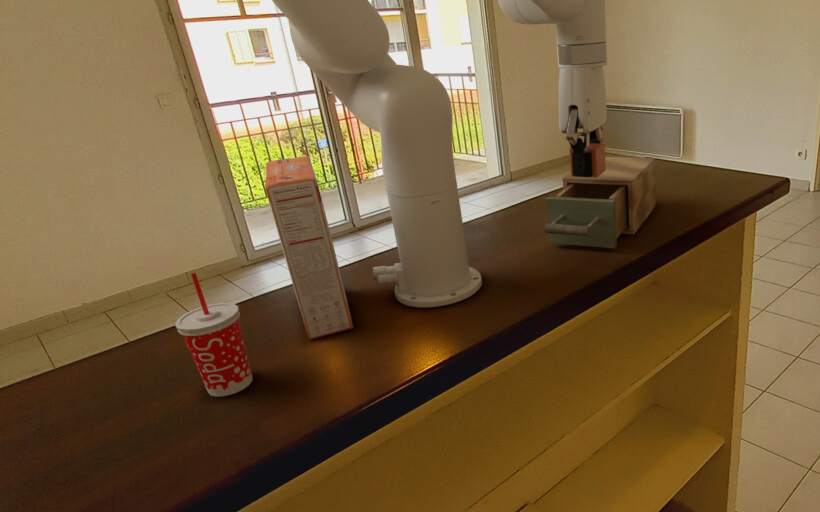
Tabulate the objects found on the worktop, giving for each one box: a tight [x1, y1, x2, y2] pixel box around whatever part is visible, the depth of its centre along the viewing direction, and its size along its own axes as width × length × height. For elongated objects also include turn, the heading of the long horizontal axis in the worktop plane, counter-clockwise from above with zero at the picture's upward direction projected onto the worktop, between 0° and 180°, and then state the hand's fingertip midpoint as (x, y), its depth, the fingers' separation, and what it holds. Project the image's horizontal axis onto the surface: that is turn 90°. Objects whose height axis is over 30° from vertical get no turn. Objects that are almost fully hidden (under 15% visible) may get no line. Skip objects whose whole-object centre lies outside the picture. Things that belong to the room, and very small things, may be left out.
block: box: [569, 143, 606, 177], centre depth 100 cm, size 4×4×4 cm
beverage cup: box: [174, 272, 253, 398], centre depth 67 cm, size 6×6×14 cm
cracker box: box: [264, 155, 354, 340], centre depth 81 cm, size 14×6×21 cm, turn 25°
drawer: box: [544, 183, 629, 249], centre depth 102 cm, size 21×11×8 cm, turn 159°
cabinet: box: [562, 156, 657, 235], centre depth 113 cm, size 16×13×10 cm
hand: (588, 171), depth 100 cm, fingers closed on block, 4 cm apart
